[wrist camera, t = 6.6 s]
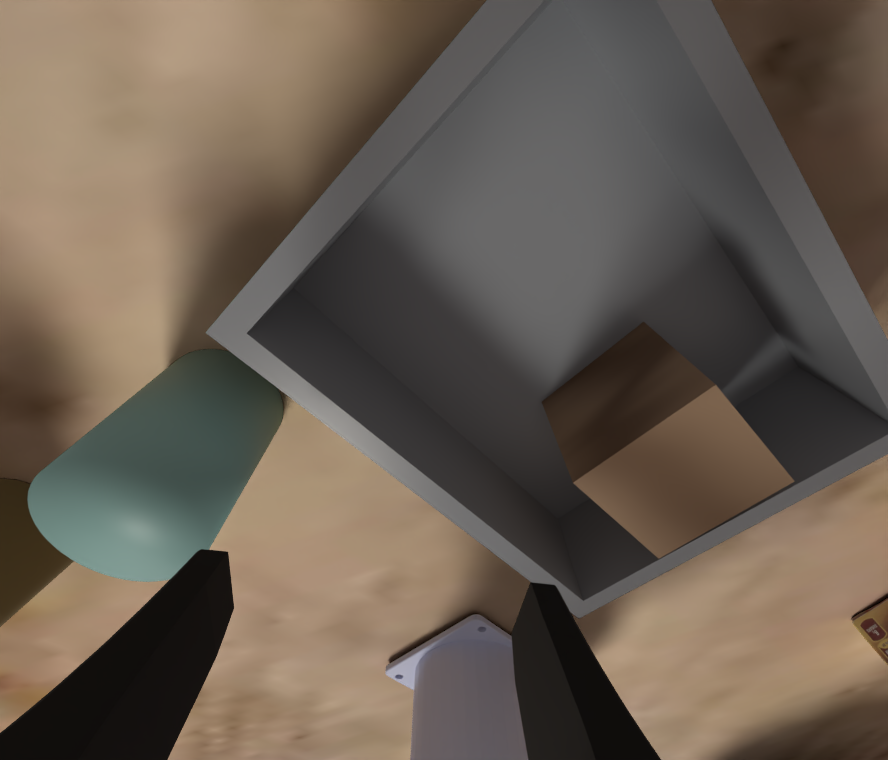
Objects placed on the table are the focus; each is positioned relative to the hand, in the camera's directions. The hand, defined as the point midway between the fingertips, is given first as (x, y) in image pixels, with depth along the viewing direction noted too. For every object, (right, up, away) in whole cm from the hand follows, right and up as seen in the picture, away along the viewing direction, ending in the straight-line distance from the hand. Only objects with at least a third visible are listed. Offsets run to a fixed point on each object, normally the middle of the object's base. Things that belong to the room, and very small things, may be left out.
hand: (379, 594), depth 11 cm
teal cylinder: (-8, +4, +8) cm, 12 cm away
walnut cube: (+9, +4, +8) cm, 13 cm away
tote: (+6, +7, +7) cm, 12 cm away
